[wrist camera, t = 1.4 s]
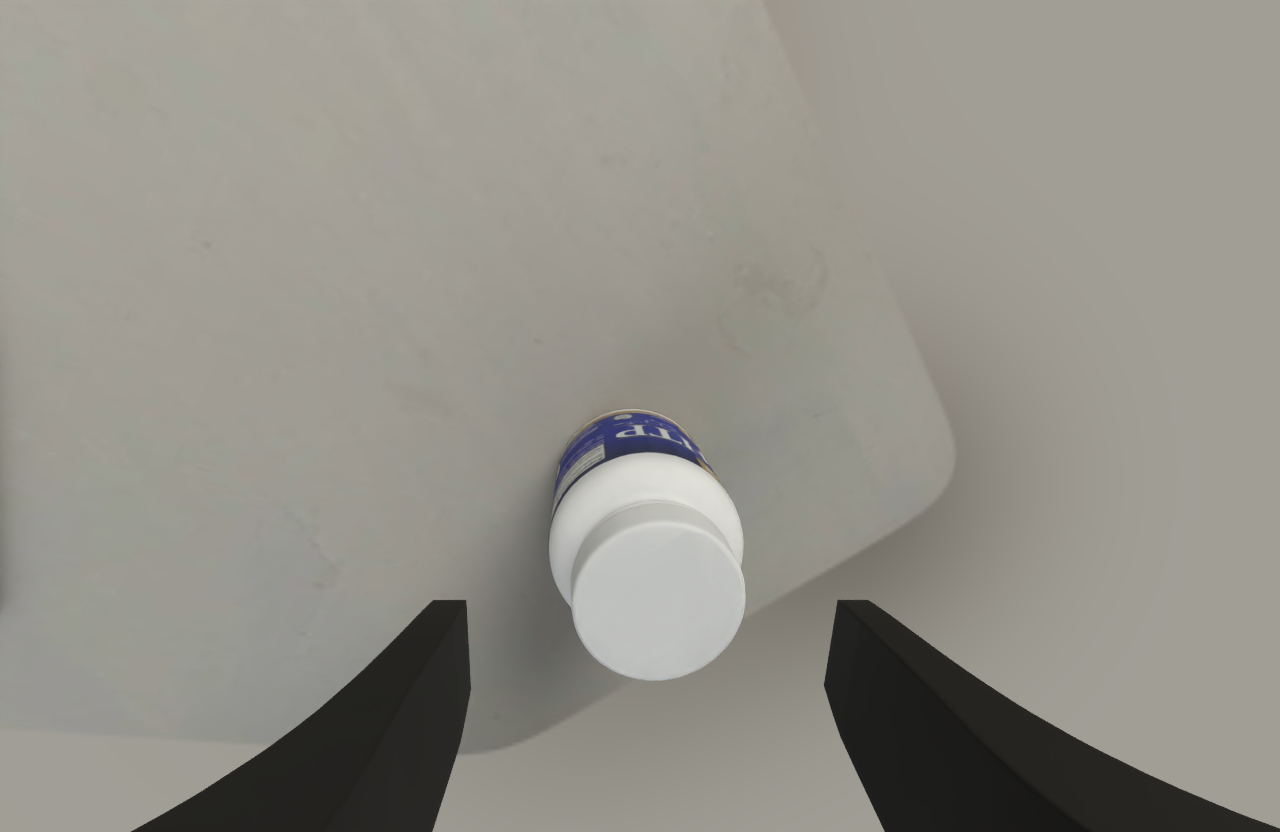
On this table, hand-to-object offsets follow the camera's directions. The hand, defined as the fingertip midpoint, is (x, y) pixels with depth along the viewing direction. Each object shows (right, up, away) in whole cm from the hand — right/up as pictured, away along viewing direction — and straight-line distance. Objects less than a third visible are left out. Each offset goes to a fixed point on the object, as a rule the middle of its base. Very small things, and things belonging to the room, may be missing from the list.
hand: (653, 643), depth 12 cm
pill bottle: (-1, +2, +11) cm, 11 cm away
